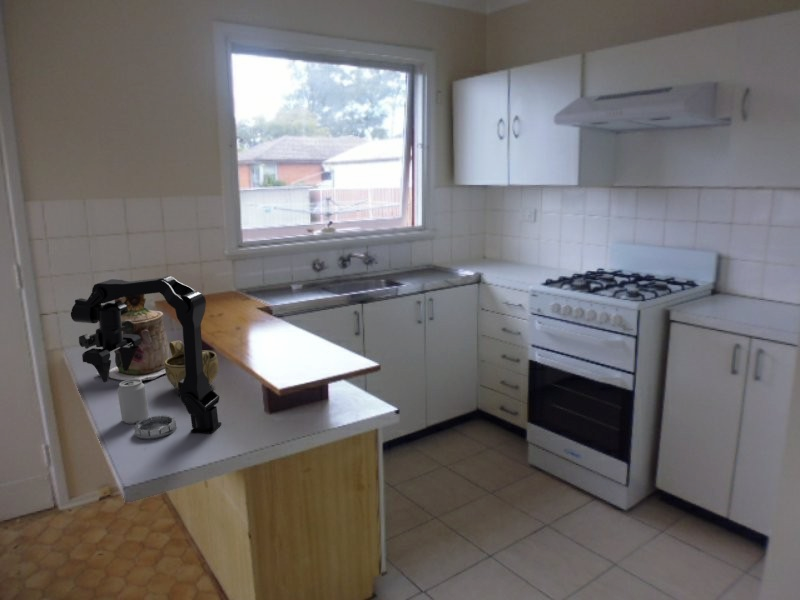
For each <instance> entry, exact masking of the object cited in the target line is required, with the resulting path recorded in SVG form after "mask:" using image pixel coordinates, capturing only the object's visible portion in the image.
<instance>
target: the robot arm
mask: <svg viewBox="0 0 800 600" xmlns="http://www.w3.org/2000/svg"><path fill="white" fill-rule="evenodd" d="M157 293H158V294H161V295H162V296H163V298H164V299H165V301H166V303H167V304H168V305H169V306H171V308H173V309H174V312H175V315H176V318H177V319H178V321H179V323H180V325H181V326H182V339H183V342H182V344H183V346H184V359H185V378H184V379H182V380H181V381H179V382H178V388H179V389H178V395H177V396H178V397H180V401H181V403H183V404H184V407H185V408H186V411H187V413H188V414H189V415H190V421H191V428H192V429H191V430H190V433H192V434H193V433H195V434H213V433H214V432H215V431H216V430H217V429H218V428H219V427H220V426H222V422H220V421H219V415H218V407H217V406H215V405H217V404H218V403H219V401H220V396H219V395H218V393H216V392H215V391H214V389H212V388H211V385H210V384H209V380H208V378H207V377H206V375H205V374H204V372H203V357H202V350H203V344H202V343H203V342H202V321H203V318H204V316H205V312H206V305H207V301H206V298H205V295H203V294H202V293H201V292H199V291H196V290H195V289H194V288H192V287H191V286H189V285H187V284H184V283H182V282H181V281H178V280H177V279H176V278H175V277H173V276H171V275H167V276H163V277H157V278H156V277H155V278H150V279H149V278H148V279H140V280H132V281H129V280H128V281H127V280H124V279H116V278H112V279H108V280H105V281H102V282H98V283H95V284H94V285H93V287H92V290H91V293H90V295H89V297H88V298H83V297H82V298H81V297H80V298H77V299H75V300H74V305H73V306H72V307H71V312H70V317H71V319H72V321H73V322H75V323H81V324H83V323H84V324H97V323H99V325H98V326H99V328H96V329H95V333H93V334H90V335H89V334H88V333H85V334H82V335H80V336H78V344H79V345H80V347H81V348H85V350H86V351H84V352H83V353H82V354H81V356H82V357H81V358H82V362H83V363H87V364H90V365H92V366H93V367H94V368H95V369H96V371H97V373H99V375H100V376H99V377H100V378H101V380H102V382H103V383H107V382H108V381H109V378H110V377H109V371H110V370H111V364H112V360H111V359H110V358H111V353H113V352H114V351H115V350H118V351H119V352H120V354H121V360H122V366H123V370H124V371H127V370H128V368H129V366H130V364H131V361H132V359H133V357H134V355H135V353H136V350H137V348H139V346H138V345H140V344H141V337H140V336H139V335H134V334H123V332H122V331H123V330H126V328H125V326H122V322H121V310H124V309H126V308H127V306H126V305H125V304H123V303H122V302H121V301H118V302H115V300H116V299H119V298H122V297H125V296H134V295H143V294H145V295H151V294H157ZM112 301H114V302H112ZM94 346H95V347H94ZM91 347H93V348H91ZM89 348H91V349H89ZM87 349H88V350H87Z"/></svg>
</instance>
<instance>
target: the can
mask: <svg viewBox="0 0 800 600" xmlns="http://www.w3.org/2000/svg"><path fill="white" fill-rule="evenodd" d="M146 393H147V391H146V385H145V384H144V383H143V381H142V380H140V379H130V380H126V381H124V380H122V381H121V382H120V383H118V388H117V394H118V395H117V396H118V402H119V403H118V404H119V409H120V410H119V411H120V415H121V420H122V421H123V422H124V423H126V424H129V425H130V424H137V423H138V422H140V421H142V420H143V419H146V418H149V416H150V415H149V414H150V413H149V405H148V399H147V394H146Z"/></svg>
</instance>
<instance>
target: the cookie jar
mask: <svg viewBox="0 0 800 600" xmlns="http://www.w3.org/2000/svg"><path fill="white" fill-rule="evenodd" d="M145 295H146V294H143V295H134V296H125V297H122V298H119V299H116V300H114V303H115V302H118V301H121V302H122V303H123V304H125V305H126V306H127V308H126V309H124V310H121V322H122V326H125V328H126V330H123V331H122V332H123V334H134V335H139V336H140V337H141V344H140V345H138V346H139V348H137V350H136V353H135V355H134V357H133V359H132V361H131V364H130V366H129V368H128V370H127V371H124V370H123V366H122V360H121V354H120V352H119V351H118V350H115V351H113V352H114V354H115V355H114V356H115V359H114V364H115V366H114V367H113V368H110V371H109V377H108V378H111V379H114V380H119V381H126V380H130V379H140V380H142V382H143V381H148V380H149V381H150V380H155V379H157V378H158V377H160V376H163V375H164V374H165V375H166V371H165V361H166V360H167V359H168V358H169V357H170V355H169V354H170V346H169V341H168V336H167V333H166V330H165V325H164V322H163V319H164V316H165V315H164V313H163V312H162V311H160V310H151V309H149V308H147V307H145V304H146V301H147V298H145ZM95 375H96V376H98V377H100V375H99V373H98V372H96V373H95Z"/></svg>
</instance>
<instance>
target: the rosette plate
mask: <svg viewBox="0 0 800 600" xmlns="http://www.w3.org/2000/svg"><path fill="white" fill-rule="evenodd" d="M176 430H177V423H176V420H175V417H173V416H171V415H163V414H162V415H160V414H159V415H154V416H153V415H152V416H150V417H149V416H148V417H147V418H146V419H143V420H142V421H140V422H138V423H135V425H134V434H135V435H134V436H135V438H137V439H138V440H141V441H142V440H143V441H150V440H156V439H157V440H158V439H162V438H165V437H167V436H170V435H171V434H173V433H174V432H176Z"/></svg>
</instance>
